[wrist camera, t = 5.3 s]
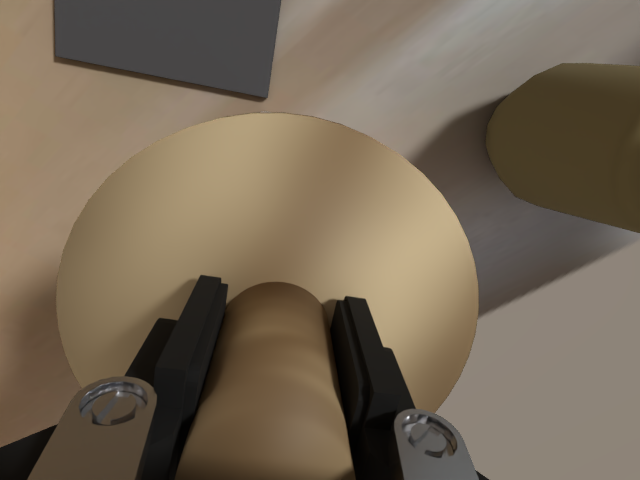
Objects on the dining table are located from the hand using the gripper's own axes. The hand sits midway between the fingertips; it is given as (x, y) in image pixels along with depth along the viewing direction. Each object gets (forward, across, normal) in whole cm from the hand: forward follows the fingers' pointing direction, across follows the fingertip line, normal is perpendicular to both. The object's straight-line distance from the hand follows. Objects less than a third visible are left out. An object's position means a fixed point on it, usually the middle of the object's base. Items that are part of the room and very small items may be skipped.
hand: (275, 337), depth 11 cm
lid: (+1, 0, 0) cm, 1 cm away
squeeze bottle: (+17, -15, -7) cm, 24 cm away
